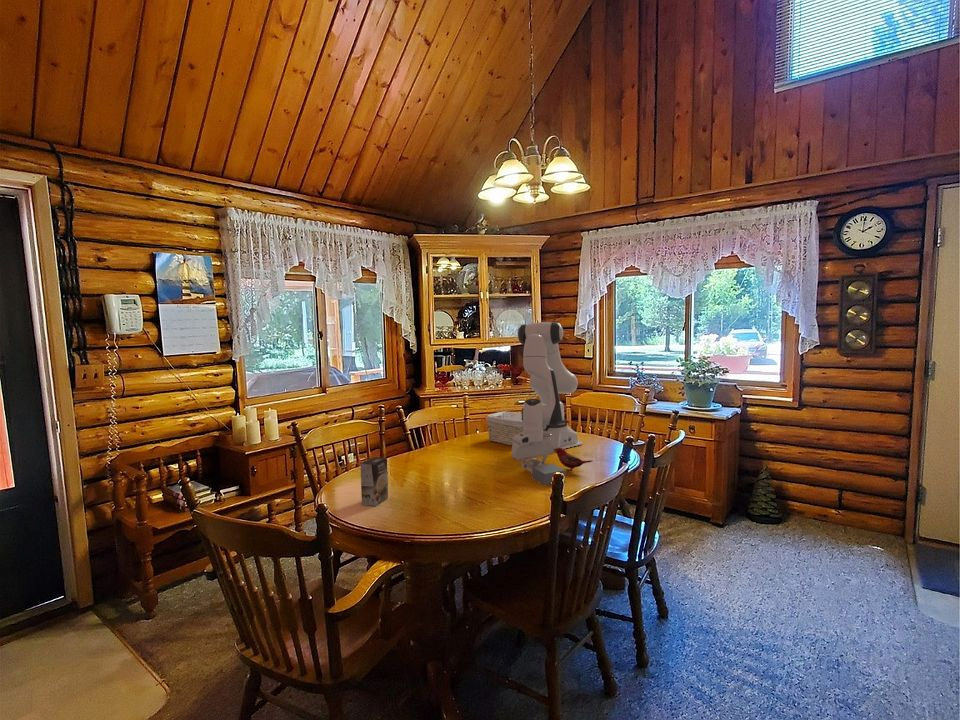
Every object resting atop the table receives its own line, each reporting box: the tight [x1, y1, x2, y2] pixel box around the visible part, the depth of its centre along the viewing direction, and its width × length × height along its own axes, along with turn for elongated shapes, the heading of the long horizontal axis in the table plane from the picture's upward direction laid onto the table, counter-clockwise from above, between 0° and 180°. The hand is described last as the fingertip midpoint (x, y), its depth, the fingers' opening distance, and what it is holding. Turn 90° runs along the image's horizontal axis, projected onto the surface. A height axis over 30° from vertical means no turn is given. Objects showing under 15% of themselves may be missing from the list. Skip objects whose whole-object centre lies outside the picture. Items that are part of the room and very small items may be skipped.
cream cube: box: [525, 457, 542, 474], centre depth 227 cm, size 5×5×5 cm
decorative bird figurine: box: [554, 448, 593, 472], centre depth 224 cm, size 3×18×10 cm, turn 59°
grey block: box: [531, 463, 566, 486], centre depth 214 cm, size 10×10×5 cm
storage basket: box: [485, 410, 524, 446], centre depth 277 cm, size 24×16×15 cm
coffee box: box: [359, 456, 389, 507], centre depth 193 cm, size 9×6×16 cm
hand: (533, 466), depth 227 cm, fingers open, 8 cm apart
